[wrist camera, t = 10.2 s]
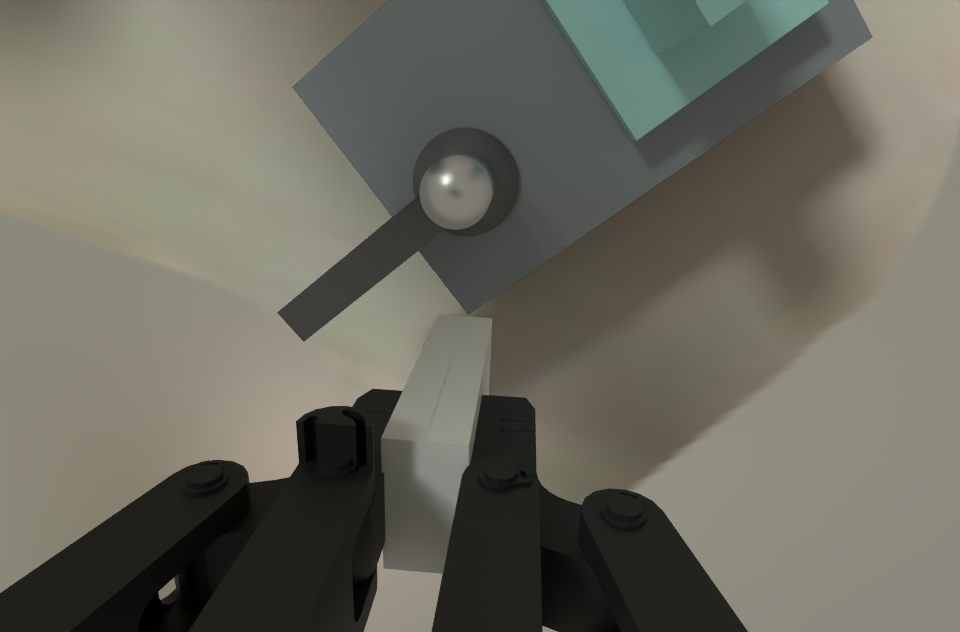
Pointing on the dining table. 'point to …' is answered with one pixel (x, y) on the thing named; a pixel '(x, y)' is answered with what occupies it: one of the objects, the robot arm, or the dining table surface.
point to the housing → (527, 122)
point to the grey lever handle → (398, 239)
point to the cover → (669, 47)
